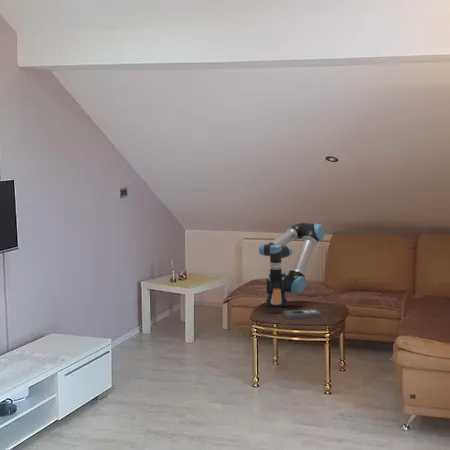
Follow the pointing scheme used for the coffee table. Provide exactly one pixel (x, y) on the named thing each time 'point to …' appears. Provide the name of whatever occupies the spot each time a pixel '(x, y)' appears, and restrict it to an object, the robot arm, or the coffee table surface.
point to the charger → (276, 296)
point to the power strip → (301, 314)
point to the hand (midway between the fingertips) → (276, 303)
